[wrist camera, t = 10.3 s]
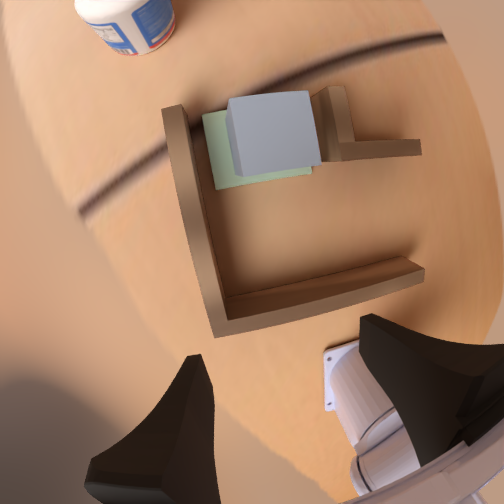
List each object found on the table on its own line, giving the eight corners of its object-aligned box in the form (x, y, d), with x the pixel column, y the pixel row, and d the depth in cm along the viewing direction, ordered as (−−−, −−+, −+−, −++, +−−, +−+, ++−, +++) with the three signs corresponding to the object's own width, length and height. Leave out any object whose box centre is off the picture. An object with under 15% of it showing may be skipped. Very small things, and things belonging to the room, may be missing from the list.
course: (401, 267, 23) (423, 281, 20) (214, 313, 22) (214, 338, 19) (386, 98, 18) (410, 90, 15) (170, 119, 17) (161, 109, 14)
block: (291, 165, 19) (321, 165, 13) (235, 175, 19) (243, 177, 13) (281, 111, 18) (307, 90, 12) (225, 119, 17) (228, 98, 12)
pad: (310, 173, 20) (312, 173, 19) (215, 190, 19) (215, 190, 19) (298, 102, 18) (299, 101, 18) (201, 115, 17) (201, 114, 17)
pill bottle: (169, -3, 14) (150, -78, 5) (182, 43, 15) (163, -35, 6) (105, 21, 14) (57, -39, 4) (114, 68, 15) (53, 14, 6)
